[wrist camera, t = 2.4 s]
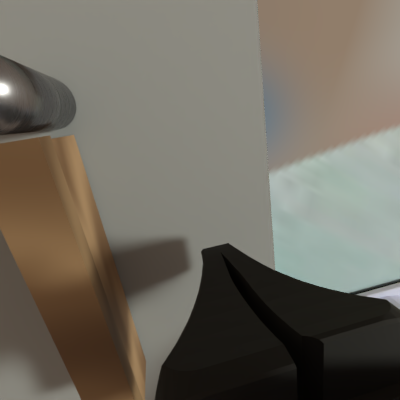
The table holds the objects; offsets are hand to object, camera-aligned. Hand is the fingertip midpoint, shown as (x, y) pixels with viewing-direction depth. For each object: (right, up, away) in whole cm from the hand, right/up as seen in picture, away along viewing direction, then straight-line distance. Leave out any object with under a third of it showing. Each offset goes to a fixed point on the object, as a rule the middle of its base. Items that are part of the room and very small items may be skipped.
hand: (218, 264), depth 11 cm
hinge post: (-7, +7, -1) cm, 10 cm away
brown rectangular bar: (-6, -1, +1) cm, 6 cm away
